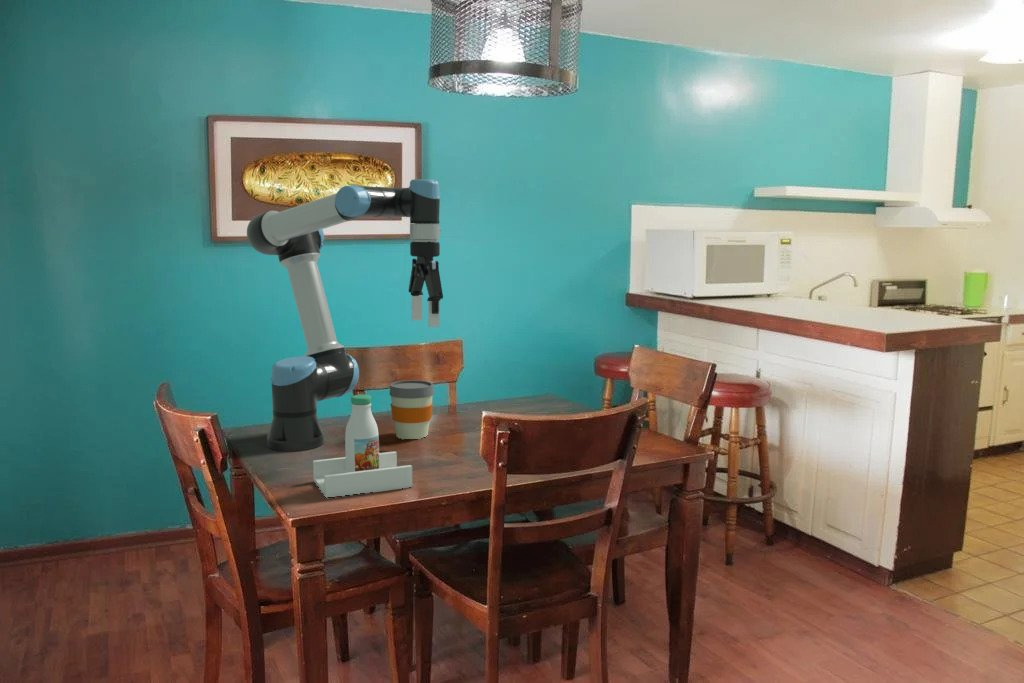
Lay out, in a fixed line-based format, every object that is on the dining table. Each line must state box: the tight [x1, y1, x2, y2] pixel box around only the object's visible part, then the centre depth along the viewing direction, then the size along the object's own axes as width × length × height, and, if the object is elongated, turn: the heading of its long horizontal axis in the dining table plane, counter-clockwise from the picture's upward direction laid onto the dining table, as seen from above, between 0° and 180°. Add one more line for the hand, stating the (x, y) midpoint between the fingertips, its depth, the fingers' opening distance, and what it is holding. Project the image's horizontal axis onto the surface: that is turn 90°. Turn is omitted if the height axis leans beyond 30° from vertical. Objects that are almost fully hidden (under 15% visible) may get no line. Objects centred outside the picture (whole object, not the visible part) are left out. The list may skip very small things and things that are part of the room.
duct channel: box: [312, 451, 413, 499], centre depth 192 cm, size 13×20×5 cm
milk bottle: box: [344, 394, 380, 473], centre depth 191 cm, size 8×8×20 cm
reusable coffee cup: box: [389, 379, 435, 440], centre depth 234 cm, size 13×13×15 cm
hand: (425, 323), depth 213 cm, fingers open, 13 cm apart
